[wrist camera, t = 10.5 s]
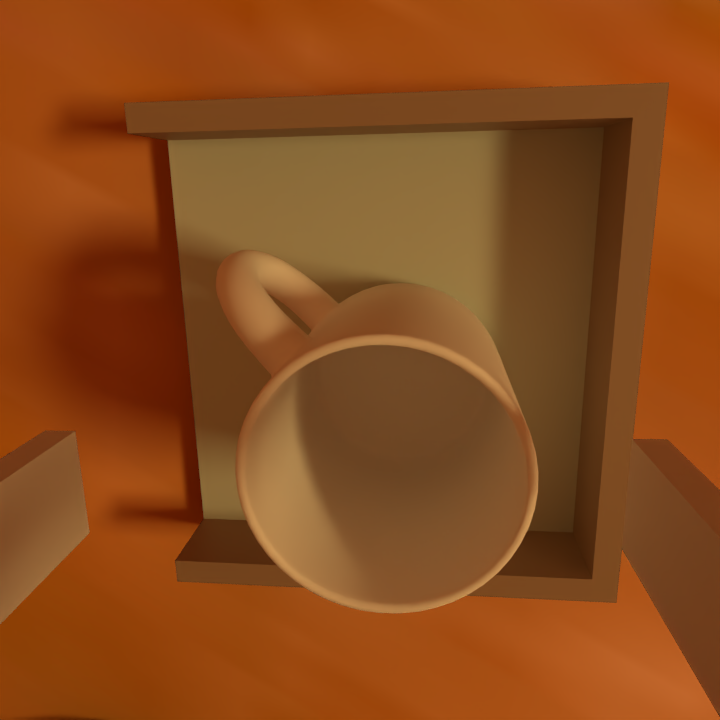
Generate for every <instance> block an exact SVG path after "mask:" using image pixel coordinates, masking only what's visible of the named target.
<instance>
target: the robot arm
mask: <svg viewBox="0 0 720 720" xmlns="http://www.w3.org/2000/svg"><path fill="white" fill-rule="evenodd" d="M88 534H89V526H88V519H87V512H86V504H85V497H84V490H83V483H82V476H81V469H80V462H79V454H78V447H77V440H76V433H75V431H44V432H42V433H41V434H39V435H38V436H36V437H34V438H33V439H31V440H30V441H28V442H26V443H25V444H23V445H22V446H20V447H18V448H17V449H15V450H14V451H12V452H10V453H9V454H7V455H6V456H4V457H3V458H1V459H0V624H1V623H2V622H3V621H4V620H5V619H6V618H7V617H8V616H9V615H10V614H11V613H12V612H13V611H14V610H15V609H16V608H17V606H18V605H19V604H20V603H21V602H22V601H23V600H24V599H25V598H26V597H27V596H28V595H29V594H30V593H31V592H32V591H33V590H34V589H35V588H36V587H37V586H38V585H39V584H40V583H41V582H42V581H43V580H44V579H45V578H46V577H47V576H48V575H49V574H50V573H51V572H52V571H53V570H54V569H55V568H56V567H57V566H58V564H59V563H60V562H61V561H62V560H63V559H64V558H65V557H66V556H67V555H68V554H69V553H70V552H71V551H72V550H73V549H74V548H75V547H76V546H77V545H78V544H79V543H80V542H81V541H82V540H83V539H84V538H85V537H86V536H87V535H88ZM622 550H623V552H624V553H625V555H626V557H627V558H628V560H629V562H630V564H631V565H632V567H633V569H634V570H635V572H636V574H637V576H638V577H639V579H640V581H641V582H642V584H643V586H644V588H645V589H646V591H647V593H648V595H649V596H650V598H651V600H652V601H653V603H654V605H655V607H656V608H657V610H658V612H659V613H660V615H661V617H662V619H663V620H664V622H665V624H666V625H667V627H668V629H669V631H670V632H671V634H672V636H673V638H674V639H675V641H676V643H677V644H678V646H679V648H680V650H681V651H682V653H683V655H684V656H685V658H686V660H687V662H688V663H689V665H690V667H691V668H692V670H693V672H694V674H695V675H696V677H697V679H698V680H699V682H700V684H701V686H702V687H703V689H704V691H705V693H706V694H707V696H708V698H709V699H710V701H711V703H712V705H713V706H714V708H715V710H716V711H717V713H718V715H719V717H720V490H719V489H718V488H717V487H716V486H715V485H714V484H713V483H712V482H711V481H710V480H709V479H708V478H707V477H706V476H705V475H703V474H702V473H701V472H700V471H699V470H698V469H697V468H696V467H695V466H694V465H693V464H692V463H691V462H690V461H689V460H688V459H687V458H686V457H685V456H684V455H683V454H682V453H681V452H680V451H679V450H678V449H677V448H676V447H675V446H674V445H673V444H672V443H671V442H669V441H668V440H664V439H632V445H631V456H630V466H629V477H628V488H627V498H626V509H625V519H624V530H623V540H622Z"/></svg>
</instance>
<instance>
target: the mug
mask: <svg viewBox="0 0 720 720" xmlns="http://www.w3.org/2000/svg"><path fill="white" fill-rule="evenodd" d="M216 291H217V296H218V299H219V301H220V304H221V307H222V309H223V311H224V313H225V315H226V317H227V319H228V321H229V323H230V324H231V326H232V327H233V329H234V330H235V332H236V333H237V335H238V336H239V337H240V339H241V340H242V341H243V343H244V344H245V345H246V347H247V348H248V349H249V350H250V351H251V353H252V354H253V355H254V356H255V357H256V358H257V360H258V361H259V362H260V363H261V364H262V365H263V366H264V368H265V369H266V370H267V371H268V372H269V373H270V374H271V376H272V378H271V379H270V380H269V381H268V382H267V383H266V385H265V386H264V387H263V388H262V390H261V391H260V393H259V394H258V396H257V397H256V399H255V400H254V402H253V403H252V405H251V407H250V409H249V411H248V413H247V415H246V417H245V419H244V422H243V425H242V428H241V431H240V435H239V438H238V444H237V450H236V467H235V474H236V483H237V491H238V495H239V499H240V503H241V507H242V510H243V513H244V515H245V518H246V520H247V523H248V525H249V527H250V529H251V531H252V533H253V534H254V536H255V538H256V540H257V541H258V543H259V544H260V545H261V547H262V548H263V550H264V551H265V552H266V554H267V555H268V556H269V557H270V558H271V559H272V561H273V562H274V563H275V564H276V565H277V566H278V567H279V568H280V569H281V570H282V571H283V572H285V573H286V574H287V575H288V576H289V577H290V578H292V579H293V580H294V581H296V582H297V583H299V584H300V585H302V586H303V587H305V588H306V589H308V590H309V591H311V592H313V593H315V594H317V595H319V596H321V597H323V598H325V599H327V600H329V601H332V602H335V603H337V604H340V605H343V606H346V607H350V608H354V609H358V610H363V611H370V612H377V613H408V612H418V611H423V610H427V609H432V608H436V607H439V606H442V605H445V604H448V603H451V602H454V601H456V600H458V599H460V598H462V597H464V596H466V595H468V594H470V593H472V592H473V591H475V590H476V589H478V588H479V587H481V586H483V585H484V584H485V583H486V582H488V581H489V580H490V579H491V578H492V577H494V576H495V575H496V574H497V573H498V572H499V571H500V570H501V569H502V568H503V567H504V566H505V565H506V563H507V562H508V561H509V560H510V559H511V557H512V556H513V554H514V553H515V552H516V550H517V549H518V547H519V546H520V544H521V542H522V540H523V538H524V536H525V534H526V532H527V530H528V528H529V526H530V523H531V520H532V517H533V514H534V510H535V506H536V500H537V494H538V465H537V457H536V452H535V448H534V444H533V441H532V437H531V434H530V431H529V429H528V426H527V424H526V421H525V419H524V416H523V414H522V411H521V409H520V406H519V404H518V401H517V399H516V396H515V394H514V391H513V388H512V386H511V383H510V381H509V378H508V376H507V373H506V371H505V368H504V366H503V363H502V361H501V358H500V356H499V353H498V351H497V349H496V346H495V344H494V342H493V340H492V338H491V336H490V335H489V333H488V331H487V330H486V328H485V327H484V325H483V324H482V323H481V322H480V320H479V319H478V318H477V317H476V316H475V315H474V314H473V313H472V312H471V311H470V310H469V309H468V308H467V307H466V306H465V305H463V304H462V303H460V302H459V301H458V300H456V299H455V298H453V297H451V296H449V295H447V294H445V293H444V292H441V291H439V290H436V289H433V288H431V287H427V286H422V285H418V284H409V283H390V284H384V285H378V286H375V287H372V288H369V289H366V290H363V291H361V292H358V293H356V294H354V295H352V296H350V297H349V298H347V299H345V300H344V301H342V302H341V303H337V302H336V301H335V300H334V299H333V298H332V297H331V296H329V295H328V294H327V293H326V292H325V291H324V290H323V289H322V288H320V287H319V286H318V285H317V284H316V283H314V282H313V281H312V280H311V279H309V278H308V277H307V276H306V275H304V274H303V273H301V272H300V271H299V270H297V269H296V268H294V267H293V266H291V265H290V264H288V263H286V262H285V261H283V260H281V259H279V258H277V257H275V256H273V255H270V254H267V253H264V252H260V251H255V250H241V251H237V252H234V253H232V254H230V255H229V256H228V257H226V258H225V259H224V260H223V262H222V263H221V265H220V267H219V269H218V270H217V276H216ZM267 293H268V294H270V295H271V296H273V297H275V298H276V299H278V300H279V301H280V302H282V303H283V304H285V305H286V306H287V307H288V308H289V309H291V310H292V311H293V312H294V313H295V314H296V315H297V316H298V317H299V318H300V319H301V320H302V321H303V322H304V323H305V324H306V325H307V326H308V327H309V328H310V329H311V332H310V333H309V335H307V334H306V333H305V332H304V331H302V330H301V329H300V328H299V327H298V326H297V325H296V324H295V323H294V322H293V321H292V320H291V319H290V318H289V317H288V316H287V315H286V314H285V313H284V312H283V311H282V310H281V309H280V308H279V307H278V306H277V305H276V304H275V302H274V301H273V300H272V299H271V297H270V296H269V295H268V294H267Z"/></svg>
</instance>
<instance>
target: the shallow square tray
mask: <svg viewBox="0 0 720 720" xmlns="http://www.w3.org/2000/svg"><path fill="white" fill-rule="evenodd" d="M668 87H669V83H643V84H617V85H590V86H563V87H537V88H510V89H483V90H456V91H430V92H403V93H376V94H350V95H323V96H296V97H269V98H243V99H216V100H189V101H163V102H136V103H124V106H125V115H126V124H127V133H128V134H133V135H139V136H145V137H150V138H156V139H162V140H168V150H169V161H170V171H171V182H172V192H173V203H174V213H175V224H176V234H177V244H178V255H179V265H180V276H181V286H182V297H183V307H184V317H185V328H186V338H187V349H188V359H189V370H190V380H191V391H192V401H193V411H194V422H195V432H196V443H197V453H198V464H199V474H200V485H201V495H202V505H203V516H204V519H203V521H202V522H201V523H200V525H199V526H198V528H197V529H196V531H195V532H194V534H193V535H192V537H191V538H190V540H189V541H188V543H187V544H186V545H185V547H184V548H183V550H182V551H181V553H180V554H179V556H178V557H177V559H176V560H175V564H176V573H177V581H180V582H201V583H221V584H242V585H262V586H283V587H303V586H302V585H300V584H299V583H297V582H296V581H294V580H293V579H292V578H290V577H289V576H288V575H287V574H286V573H285V572H283V571H282V570H281V569H280V568H279V567H278V566H277V565H276V564H275V563H274V562H273V561H272V559H271V558H270V557H269V556H268V555H267V554H266V552H265V551H264V550H263V548H262V547H261V545H260V544H259V543H258V541H257V540H256V538H255V536H254V534H253V533H252V531H251V529H250V527H249V525H248V523H247V520H246V518H245V515H244V513H243V510H242V507H241V503H240V499H239V495H238V491H237V483H236V474H235V467H236V450H237V444H238V438H239V435H240V431H241V428H242V425H243V422H244V419H245V417H246V415H247V413H248V411H249V409H250V407H251V405H252V403H253V402H254V400H255V399H256V397H257V396H258V394H259V393H260V391H261V390H262V388H263V387H264V386H265V385H266V383H267V382H268V381H269V380H270V379H271V378H272V376H271V374H270V373H269V372H268V371H267V370H266V369H265V368H264V366H263V365H262V364H261V363H260V362H259V361H258V360H257V358H256V357H255V356H254V355H253V354H252V353H251V351H250V350H249V349H248V348H247V347H246V345H245V344H244V343H243V341H242V340H241V339H240V337H239V336H238V335H237V333H236V332H235V330H234V329H233V327H232V326H231V324H230V323H229V321H228V319H227V317H226V315H225V313H224V311H223V309H222V307H221V304H220V301H219V299H218V296H217V291H216V276H217V270H218V269H219V267H220V265H221V263H222V262H223V260H224V259H225V258H226V257H228V256H229V255H230V254H232V253H234V252H237V251H241V250H255V251H260V252H264V253H267V254H270V255H273V256H275V257H277V258H279V259H281V260H283V261H285V262H286V263H288V264H290V265H291V266H293V267H294V268H296V269H297V270H299V271H300V272H301V273H303V274H304V275H306V276H307V277H308V278H309V279H311V280H312V281H313V282H314V283H316V284H317V285H318V286H319V287H320V288H322V289H323V290H324V291H325V292H326V293H327V294H328V295H329V296H331V297H332V298H333V299H334V300H335V301H336V302H337V303H341V302H342V301H344V300H345V299H347V298H349V297H350V296H352V295H354V294H356V293H358V292H361V291H363V290H366V289H369V288H372V287H375V286H378V285H384V284H390V283H409V284H418V285H422V286H427V287H431V288H433V289H436V290H439V291H441V292H444V293H445V294H447V295H449V296H451V297H453V298H455V299H456V300H458V301H459V302H460V303H462V304H463V305H465V306H466V307H467V308H468V309H469V310H470V311H471V312H472V313H473V314H474V315H475V316H476V317H477V318H478V319H479V320H480V322H481V323H482V324H483V325H484V327H485V328H486V330H487V331H488V333H489V335H490V336H491V338H492V340H493V342H494V344H495V346H496V349H497V351H498V353H499V356H500V358H501V361H502V363H503V366H504V368H505V371H506V373H507V376H508V378H509V381H510V383H511V386H512V388H513V391H514V394H515V396H516V399H517V401H518V404H519V406H520V409H521V411H522V414H523V416H524V419H525V421H526V424H527V426H528V429H529V431H530V434H531V437H532V441H533V444H534V448H535V452H536V457H537V465H538V494H537V500H536V506H535V510H534V514H533V517H532V520H531V523H530V526H529V528H528V530H527V532H526V534H525V536H524V538H523V540H522V542H521V544H520V546H519V547H518V549H517V550H516V552H515V553H514V554H513V556H512V557H511V559H510V560H509V561H508V562H507V563H506V565H505V566H504V567H503V568H502V569H501V570H500V571H499V572H498V573H497V574H496V575H495V576H494V577H492V578H491V579H490V580H489V581H488V582H486V583H485V584H484V585H483V586H481V587H479V588H478V589H476V590H475V591H473V592H472V593H470V594H468V595H467V596H487V597H508V598H528V599H549V600H569V601H590V602H610V603H616V602H617V592H618V582H619V572H620V562H621V552H622V540H623V530H624V519H625V509H626V498H627V488H628V477H629V466H630V456H631V445H632V439H633V434H634V424H635V414H636V404H637V394H638V384H639V374H640V364H641V354H642V344H643V335H644V325H645V315H646V305H647V295H648V285H649V275H650V265H651V255H652V246H653V236H654V226H655V216H656V206H657V196H658V186H659V176H660V166H661V156H662V147H663V137H664V127H665V117H666V107H667V97H668ZM267 294H268V293H267ZM268 295H269V296H270V297H271V299H272V300H273V301H274V302H275V304H276V305H277V306H278V307H279V308H280V309H281V310H282V311H283V312H284V313H285V314H286V315H287V316H288V317H289V318H290V319H291V320H292V321H293V322H294V323H295V324H296V325H297V326H298V327H299V328H300V329H301V330H302V331H304V332H305V333H306V334H307V335H309V333H310V332H311V329H310V328H309V327H308V326H307V325H306V324H305V323H304V322H303V321H302V320H301V319H300V318H299V317H298V316H297V315H296V314H295V313H294V312H293V311H292V310H291V309H289V308H288V307H287V306H286V305H285V304H283V303H282V302H280V301H279V300H278V299H276V298H275V297H273V296H271V295H270V294H268ZM303 588H305V587H303Z"/></svg>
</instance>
